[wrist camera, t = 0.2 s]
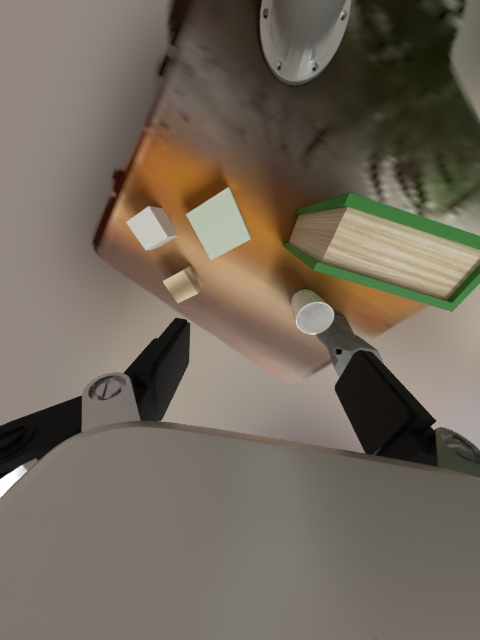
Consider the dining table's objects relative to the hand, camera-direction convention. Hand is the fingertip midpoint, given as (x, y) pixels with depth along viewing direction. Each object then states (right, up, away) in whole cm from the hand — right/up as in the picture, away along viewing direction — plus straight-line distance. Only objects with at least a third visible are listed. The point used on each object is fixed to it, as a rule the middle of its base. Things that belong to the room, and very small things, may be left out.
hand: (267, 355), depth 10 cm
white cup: (+15, +7, +37) cm, 41 cm away
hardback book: (+18, +20, +30) cm, 40 cm away
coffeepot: (+25, -1, +41) cm, 48 cm away
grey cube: (-20, +23, +31) cm, 44 cm away
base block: (-6, +23, +30) cm, 39 cm away
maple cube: (-15, +12, +37) cm, 42 cm away
